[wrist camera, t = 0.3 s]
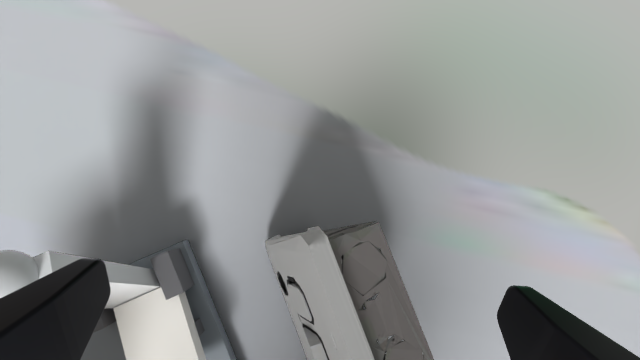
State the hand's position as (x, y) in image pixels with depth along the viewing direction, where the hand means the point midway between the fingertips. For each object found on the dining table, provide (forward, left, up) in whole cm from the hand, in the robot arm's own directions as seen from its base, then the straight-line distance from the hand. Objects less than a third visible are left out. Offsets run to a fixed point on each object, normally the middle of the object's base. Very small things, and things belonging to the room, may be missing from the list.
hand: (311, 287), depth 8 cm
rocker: (-2, +9, -12) cm, 15 cm away
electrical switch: (-4, 0, -15) cm, 15 cm away
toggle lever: (+1, +10, -13) cm, 16 cm away
